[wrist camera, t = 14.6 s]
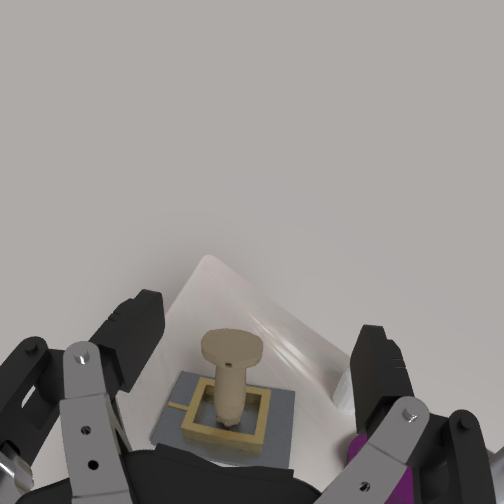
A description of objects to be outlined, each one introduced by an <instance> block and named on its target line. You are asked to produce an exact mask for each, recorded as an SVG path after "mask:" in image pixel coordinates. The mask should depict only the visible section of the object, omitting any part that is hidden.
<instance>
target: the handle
mask: <svg viewBox="0 0 504 504" xmlns="http://www.w3.org/2000/svg"><path fill="white" fill-rule="evenodd" d="M201 345H202V354H203V357H204V358H205V359H206V360H208V361H209V362H211V363H213V364H214V365H216V375H215V386H214V407H215V411H216V414H217V416H216V417H217V420H218V422H220V423H222V424H223V425H224V426H225V427H230V426H232V425H237V424H238V423H239V422H240V417H241V415H242V413H243V410H244V406H245V399H246V368H248V367H251V366H255V365H256V364H257V363H258V362H259V361H260V359H261V357H262V352H263V342H262V340H261V339H260V337H258V336H256V335H254V334H251V333H249V332H246V331H242V330H236V329H217V330H211V331H209V332H207V333H206V334H205V335H204V336H203V339H202V342H201Z"/></svg>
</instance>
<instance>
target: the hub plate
mask: <svg viewBox="0 0 504 504" xmlns="http://www.w3.org/2000/svg"><path fill="white" fill-rule="evenodd" d="M214 386H215V378H210V377H206V376H201V375H197V374H193V373H188V372H184V371H182V372H181V374H180V377H179V379H178V381H177V383H176V385H175V388H174V390H173V392H172V394H171V396H170V399H169V401H168V403H167V405H166V408H165V410H164V412H163V414H162V416H161V419H160V421H159V423H158V425H157V428H156V430H155V432H154V434H153V437H152V439H151V444H152V445H155V446H157V443H161V444H164V445H168V446H171V447H174V448H178V449H181V450H185V451H189V452H191V453H193V454H195V455H197V456H199V457H201V458H203V459H206V460H210V461H214V462H219V463H224V464H229V465H234V466H240V467H248V466H265V467H273V468H282V469H288V467H289V457H290V447H291V437H292V425H293V413H294V400H295V391H287V390H280V389H272V388H266V387H259V386H253V385H247V384H246V399H245V406H244V410H243V413H242V415H241V417H240V422H239V423H238V424H237V425H232V426H230V427H225V426H224V425H223V424H222V423H220V422H218V420H217V417H216V416H217V414H216V411H215V407H214Z"/></svg>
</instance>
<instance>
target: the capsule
mask: <svg viewBox="0 0 504 504" xmlns="http://www.w3.org/2000/svg"><path fill="white" fill-rule="evenodd" d="M333 403H334V405H335V406H336V408H337V409H339V410H341V411H342V412H346V413H355V407H354V397H353V388H352V380H351V372H350V366H349V367H348V368H347V369H346V370H345V372H344V373H343V375H342V377H341V379H340V381H339V384H338V386H337V388H336V390H335V392H334V395H333Z"/></svg>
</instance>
